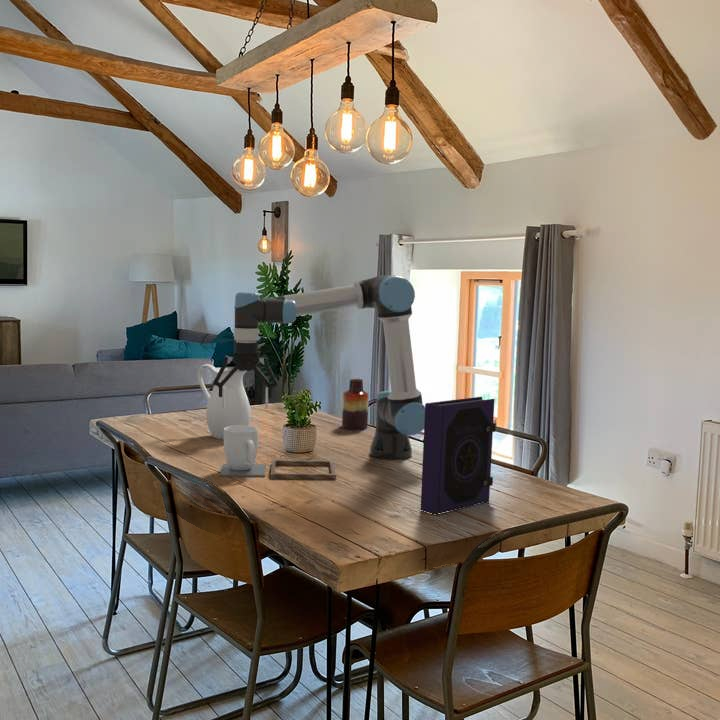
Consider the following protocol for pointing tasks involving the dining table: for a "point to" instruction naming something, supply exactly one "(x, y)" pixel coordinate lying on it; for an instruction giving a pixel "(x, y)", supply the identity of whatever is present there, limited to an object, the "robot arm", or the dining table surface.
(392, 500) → the dining table surface
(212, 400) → the pitcher
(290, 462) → the frame
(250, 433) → the mug
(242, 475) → the slate trivet
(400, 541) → the dining table surface
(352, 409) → the vase
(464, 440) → the book
